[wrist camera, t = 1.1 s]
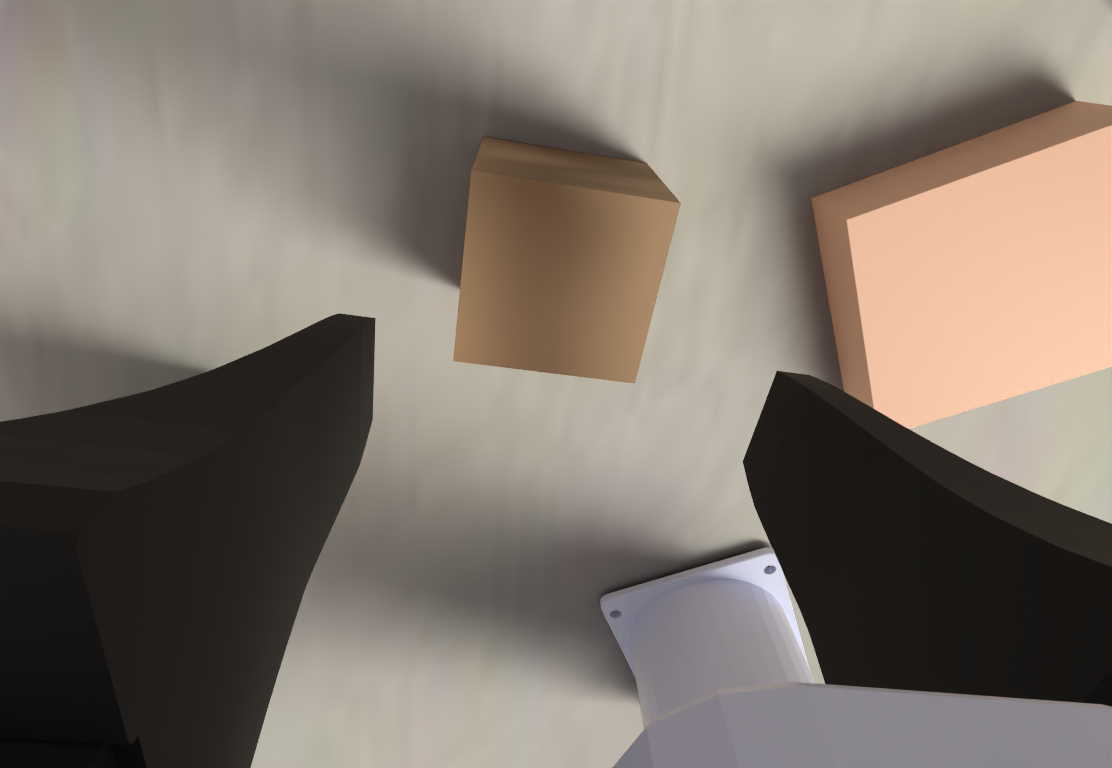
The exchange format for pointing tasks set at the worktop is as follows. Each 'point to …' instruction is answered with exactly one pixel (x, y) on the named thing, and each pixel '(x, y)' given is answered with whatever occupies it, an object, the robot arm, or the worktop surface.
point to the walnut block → (561, 260)
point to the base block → (974, 268)
